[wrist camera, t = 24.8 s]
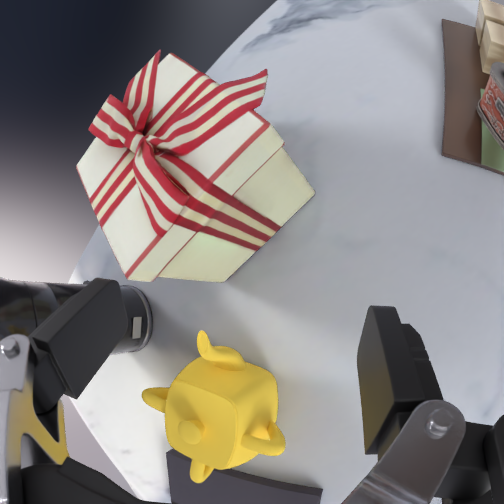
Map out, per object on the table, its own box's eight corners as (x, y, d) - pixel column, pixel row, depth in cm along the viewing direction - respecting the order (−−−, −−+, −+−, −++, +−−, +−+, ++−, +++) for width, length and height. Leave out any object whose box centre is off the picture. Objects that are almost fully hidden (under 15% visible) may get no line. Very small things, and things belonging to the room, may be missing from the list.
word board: (441, 155, 26) (452, 124, 20) (441, 22, 26) (442, -13, 19) (534, 187, 21) (561, 166, 15) (517, 46, 21) (527, 15, 14)
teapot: (174, 366, 36) (114, 383, 27) (252, 318, 33) (198, 330, 23) (226, 456, 32) (179, 495, 23) (315, 424, 28) (284, 473, 19)
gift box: (343, 164, 30) (296, 58, 15) (232, 293, 34) (110, 293, 18) (240, 96, 37) (160, 14, 21) (154, 203, 40) (48, 166, 25)
